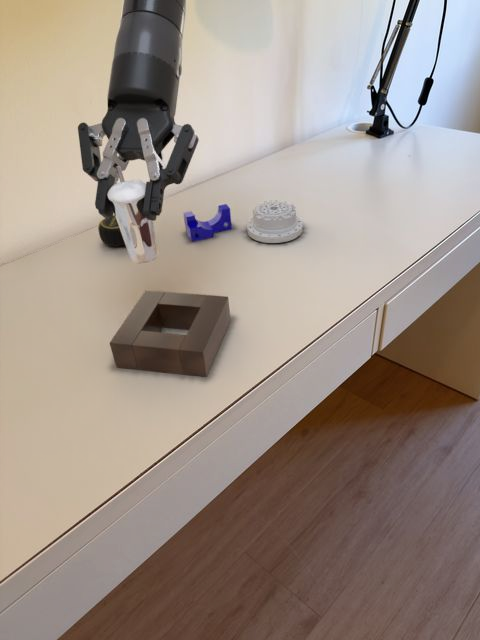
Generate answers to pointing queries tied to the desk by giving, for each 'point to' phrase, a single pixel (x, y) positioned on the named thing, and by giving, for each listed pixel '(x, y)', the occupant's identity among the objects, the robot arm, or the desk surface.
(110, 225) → the tape measure
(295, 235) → the mechanical component
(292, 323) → the desk surface
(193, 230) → the cable holder
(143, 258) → the milkshake
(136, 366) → the socket block
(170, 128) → the robot arm
